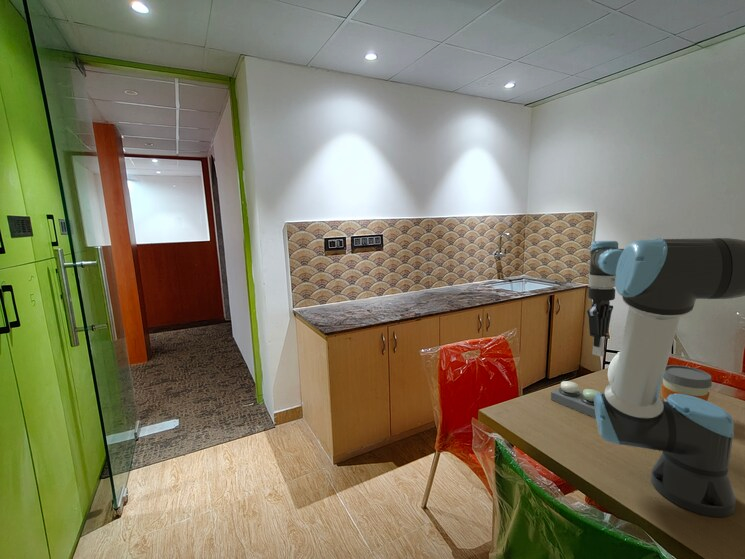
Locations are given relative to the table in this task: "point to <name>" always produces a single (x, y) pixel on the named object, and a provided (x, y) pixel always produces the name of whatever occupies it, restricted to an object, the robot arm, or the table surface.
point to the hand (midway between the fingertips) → (597, 354)
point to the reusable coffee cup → (686, 382)
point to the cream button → (569, 387)
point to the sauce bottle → (613, 368)
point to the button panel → (574, 401)
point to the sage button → (589, 394)
